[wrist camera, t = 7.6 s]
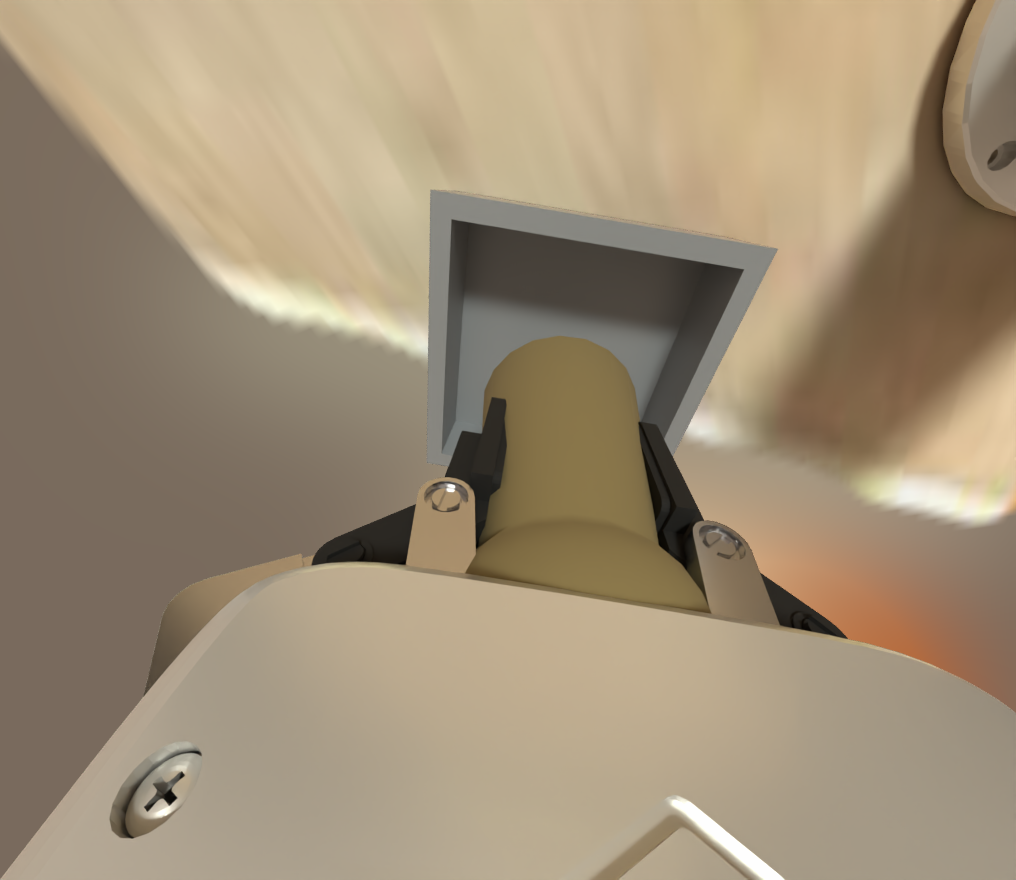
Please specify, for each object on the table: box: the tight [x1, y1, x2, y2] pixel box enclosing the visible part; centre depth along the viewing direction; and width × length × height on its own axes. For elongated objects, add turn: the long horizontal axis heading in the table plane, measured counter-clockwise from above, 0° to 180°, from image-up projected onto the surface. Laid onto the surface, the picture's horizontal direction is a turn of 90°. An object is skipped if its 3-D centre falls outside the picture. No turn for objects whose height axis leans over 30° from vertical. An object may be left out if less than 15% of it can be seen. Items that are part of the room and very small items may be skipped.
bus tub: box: [427, 190, 778, 466], centre depth 18 cm, size 13×13×4 cm
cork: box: [465, 336, 712, 614], centre depth 10 cm, size 6×6×11 cm
